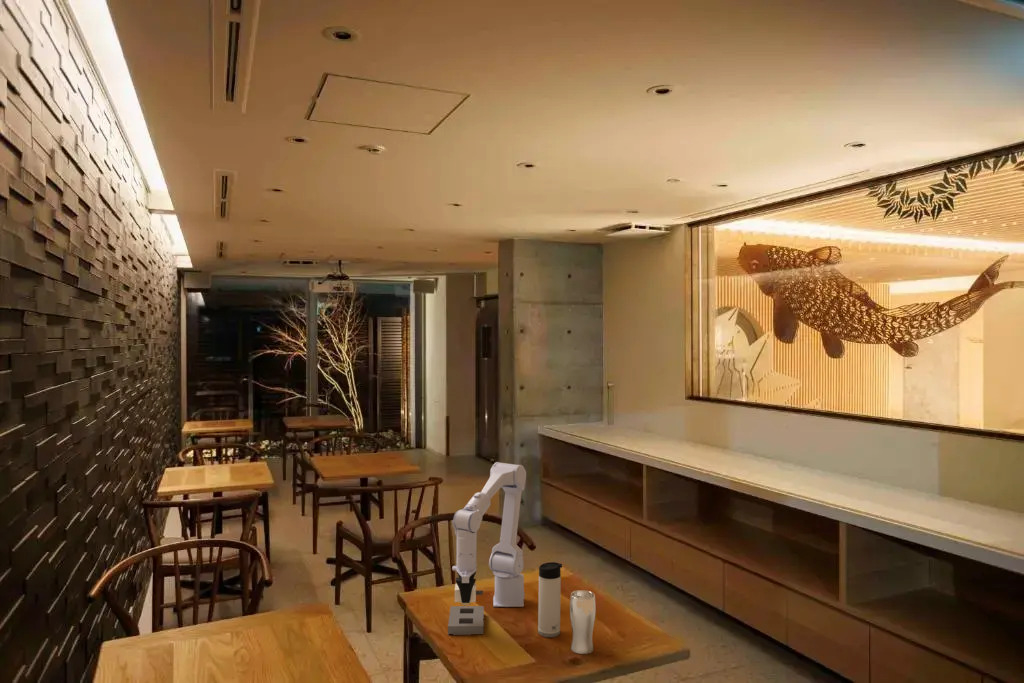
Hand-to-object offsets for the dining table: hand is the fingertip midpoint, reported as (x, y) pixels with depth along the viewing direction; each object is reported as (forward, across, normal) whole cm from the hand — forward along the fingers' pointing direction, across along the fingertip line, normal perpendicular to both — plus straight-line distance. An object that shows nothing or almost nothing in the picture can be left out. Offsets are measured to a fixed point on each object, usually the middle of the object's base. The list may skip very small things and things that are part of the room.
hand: (466, 598), depth 203 cm
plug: (+2, 0, 0) cm, 2 cm away
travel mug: (+9, +3, +24) cm, 26 cm away
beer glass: (+9, +13, +32) cm, 36 cm away
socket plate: (+9, -3, 0) cm, 10 cm away
